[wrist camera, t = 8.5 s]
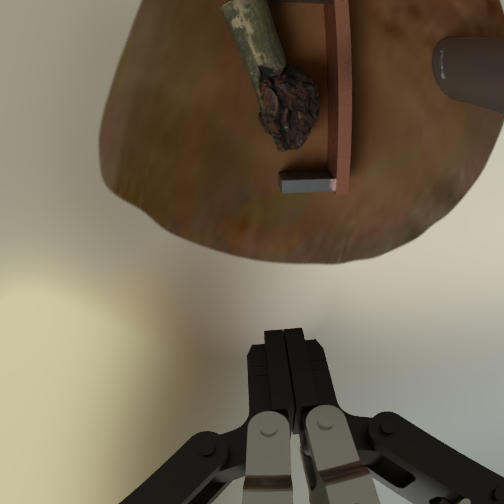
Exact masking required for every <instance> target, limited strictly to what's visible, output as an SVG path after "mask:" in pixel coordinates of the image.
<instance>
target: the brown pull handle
mask: <svg viewBox="0 0 504 504" xmlns="http://www.w3.org/2000/svg"><path fill="white" fill-rule="evenodd" d="M270 2H305V3H319V4H324V13H325V28H326V48H327V76H328V155H327V171H313V172H285V173H278V176H279V187H280V189H281V192H282V193H299V192H325V191H334V193H335V194H348V190H349V175H350V157H351V131H352V58H351V34H350V18H349V5H348V0H270Z"/></svg>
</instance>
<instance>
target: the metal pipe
mask: <svg viewBox="0 0 504 504" xmlns="http://www.w3.org/2000/svg"><path fill="white" fill-rule="evenodd" d="M221 11H222V13H223V15H224V17H225V19H226V21H227V23H228V25H229V28H230V30H231V33H232V35H233V37H234V39H235V42H236V44H237V47H238V49H239V51H240V53H241V56H242V58H243V61H244V63H245V66H246V68H247V71H248V74H249V76H250V79H251V81H252V84H253V87H254V90H255V92H256V95H257V98H258V101H259V104H260V110H261V112H260V113H259V115H258V118H259V122H260V123H261V125H262V126H263V127H264V129H265V131H266V132H267V133H268V134H270V135H272V137H273V138H274V142H275V143H276V145H277V149H278V150H279V151H280V150H281V152H284V151H286V150H294V149H295V150H297V149H299V147H301V146H302V145H303V143H304V142H305V141H306V139H307V136H308V135H310V133H311V132H310V130H311V127H312V126H313V125H314V124H316V121H317V118H318V116H319V106H320V97H319V88H318V87H317V86H316V84H315V83H314V81H313V79H312V77H311V76H309V75H308V74H307V72H305V71H304V70H302V69H300V68H299V67H297V66H295V65H289V64H287V63H286V58H285V54H284V51H283V48H282V45H281V43H280V40H279V37H278V34H277V31H276V28H275V25H274V22H273V18H272V15H271V12H270V9H269V6H268V3H267V0H232V1H229V2H227V3H226V4H224V5H223V6H222V8H221Z"/></svg>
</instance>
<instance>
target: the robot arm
mask: <svg viewBox="0 0 504 504" xmlns="http://www.w3.org/2000/svg"><path fill="white" fill-rule="evenodd" d="M432 63H433V71H434V75H435V78H436V80H437V83H438V84H439V86H440V88H441V89H442V90H443V91H444V93H445V94H446V95H448V96H449V97H450V98H452V99H454V100H457V101H461V102H465V103H469V104H472V105H475V106H479V107H483V108H486V109H489V110H493V111H496V112H499V113H502V114H504V38H494V37H452V38H445V39H443V40H442V41H440V42H439V43H438V44H437V46H436V48H435V50H434V53H433V61H432ZM264 340H265V344H260V345H252V346H251V348H250V351H249V353H248V355H247V363H248V364H247V365H248V387H249V416H248V418H247V420H246V422H245V423H244V424H243V425H242V426H241V427H239V428H237V429H235V430H233V431H230V432H227V433H224V434H221V435H219V434H217V433H215V432H210V431H204V432H200V433H197V434H195V435H194V436H192V437H191V438H190V439H189V440H188V441H187V442H186V443H185V444H184V445H183V446H182V447H181V448H180V449H179V450H178V451H177V452H176V453H175V454H174V455H173V456H172V457H170V458H169V459H168V460H167V461H166V462H165V463H164V464H163V465H162V466H161V467H160V468H159V469H158V470H157V471H156V472H155V473H153V474H152V475H151V476H150V477H149V478H148V479H147V480H146V481H145V482H143V483H142V484H141V485H140V486H139V487H138V488H137V489H136V490H134V491H133V492H132V493H131V494H130V495H129V496H127V497H126V498H125V499H124V500H123V501H122V502H120V503H119V504H211V503H212V502H213V501H214V500H215V499H216V498H217V497H218V496H219V495H220V494H221V493H222V491H223V490H224V489H225V488H226V487H227V486H228V485H229V484H230V483H231V482H232V481H233V480H235V479H238V478H240V477H243V476H245V481H244V485H243V499H242V504H293V487H292V480H291V455H290V437H291V431H292V432H293V434H299V437H300V444H301V445H300V454H301V459H302V463H303V468H304V472H305V476H306V480H307V485H308V489H309V502H310V504H380V501H379V498H378V495H377V492H376V489H375V485H374V482H373V479H372V477H373V478H375V479H376V480H377V481H379V482H381V483H382V484H384V485H385V486H387V487H388V488H390V489H391V490H393V491H394V492H396V493H397V494H399V495H400V496H402V497H404V498H405V499H407V500H408V501H410V502H412V503H413V504H504V477H502V476H500V475H498V474H496V473H495V472H493V471H491V470H489V469H487V468H486V467H484V466H482V465H480V464H479V463H477V462H475V461H473V460H471V459H470V458H468V457H466V456H465V455H463V454H461V453H459V452H458V451H456V450H454V449H453V448H451V447H449V446H448V445H446V444H444V443H443V442H441V441H439V440H438V439H436V438H434V437H433V436H431V435H430V434H428V433H426V432H425V431H423V430H422V429H420V428H418V427H417V426H415V425H414V424H412V423H410V422H409V421H407V420H406V419H404V418H403V417H401V416H399V415H398V414H396V413H393V412H381V413H379V414H377V415H376V416H374V417H373V418H369V417H359V416H353V415H350V414H348V413H346V412H344V411H343V410H342V409H341V408H340V406H339V405H338V403H337V400H336V396H335V392H334V388H333V384H332V380H331V376H330V372H329V370H328V364H327V361H326V357H325V353H324V349H323V348H322V346H321V345H320V344H319V343H318V342H317V340H316V339H314V340H305V339H304V334H303V330H302V328H294V329H284V330H270V331H264Z"/></svg>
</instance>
